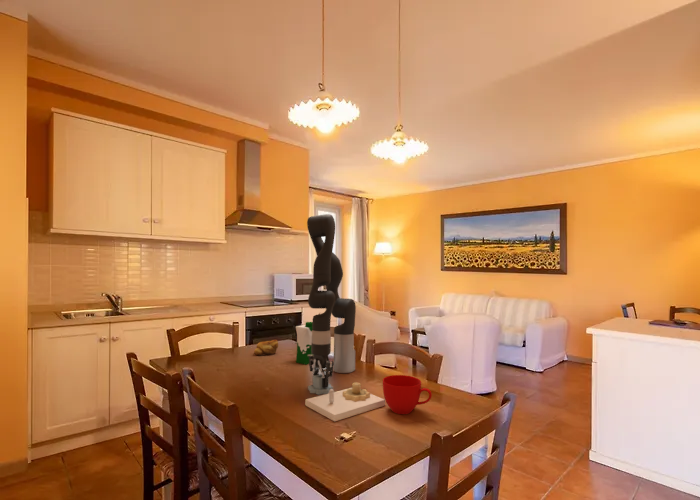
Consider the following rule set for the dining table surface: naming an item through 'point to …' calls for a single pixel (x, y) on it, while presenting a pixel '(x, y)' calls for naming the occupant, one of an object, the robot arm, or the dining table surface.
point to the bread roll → (266, 347)
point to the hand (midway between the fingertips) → (320, 385)
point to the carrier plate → (345, 402)
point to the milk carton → (304, 343)
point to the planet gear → (319, 385)
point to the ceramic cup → (403, 393)
